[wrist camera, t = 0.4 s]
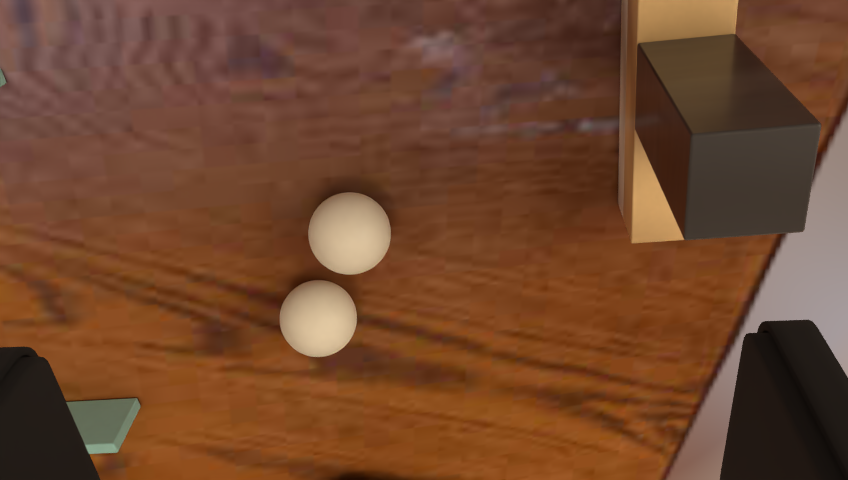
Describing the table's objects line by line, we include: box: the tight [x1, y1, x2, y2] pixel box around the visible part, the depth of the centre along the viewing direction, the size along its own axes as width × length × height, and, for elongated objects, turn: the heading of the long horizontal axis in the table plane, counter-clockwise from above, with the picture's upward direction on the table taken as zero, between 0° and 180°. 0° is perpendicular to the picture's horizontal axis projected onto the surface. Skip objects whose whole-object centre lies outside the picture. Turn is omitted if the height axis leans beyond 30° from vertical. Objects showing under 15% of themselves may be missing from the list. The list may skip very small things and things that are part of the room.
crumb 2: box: [280, 280, 357, 357], centre depth 33 cm, size 3×3×3 cm
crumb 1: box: [308, 192, 391, 275], centre depth 30 cm, size 3×3×3 cm
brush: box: [618, 0, 821, 243], centre depth 23 cm, size 12×3×10 cm, turn 7°
